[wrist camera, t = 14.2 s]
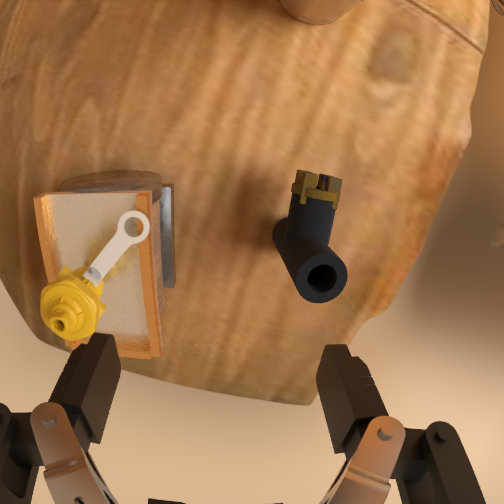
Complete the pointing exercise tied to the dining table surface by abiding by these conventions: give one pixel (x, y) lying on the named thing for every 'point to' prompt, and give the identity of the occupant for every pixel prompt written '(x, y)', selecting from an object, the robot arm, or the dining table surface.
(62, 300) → the pressure relief valve
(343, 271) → the pipe connector
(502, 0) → the place setting
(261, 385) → the dining table surface
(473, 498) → the robot arm
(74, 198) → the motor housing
